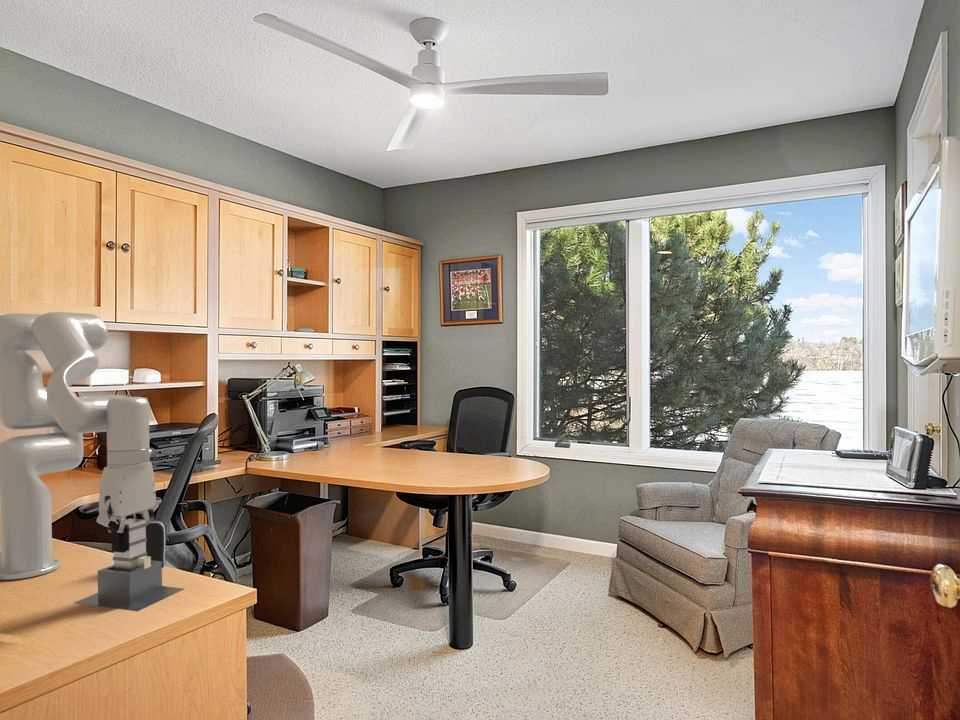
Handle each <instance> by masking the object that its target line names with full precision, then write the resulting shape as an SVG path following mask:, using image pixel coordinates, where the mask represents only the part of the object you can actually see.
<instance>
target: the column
mask: <svg viewBox="0 0 960 720" xmlns="http://www.w3.org/2000/svg"><path fill="white" fill-rule="evenodd" d="M117 524H118V521H117ZM146 526H147V523H146V522H145V520H142V519H134V518H128V519H127V518H126V521H125V527H124V531H123V532H126V533H127V551H126V552H124V553H121V552H113V556H112V560H113V565H114V570H115V571H125V572H131V571H134V570H136V569H139V568H138V558H140V557H143V556H147V552H146V541H147V538H146Z"/></svg>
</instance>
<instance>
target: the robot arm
mask: <svg viewBox="0 0 960 720" xmlns="http://www.w3.org/2000/svg"><path fill="white" fill-rule="evenodd" d="M108 336H109V335H108V328H107V326H106V323H105V322H104V320H103V319H102V318H100V317H99V316H98V315H96V314H93V313H86V312H85V313H84V312H83V313H81V312H68V311H67V312H66V311H51V312H46V313H43V314H42V313H40V314H38V313H19V312H18V313H6V314H5V313H4V314H1V315H0V421H1V423H2V425H3V426H4V427H5V428H7V430H8V429H9V430H13V431H15V430H16V431H21V430H23V431H25V430H37V429H47V428H48V429H49V428H52V430H53V432H50V433H37V434H27V435H26V434H25V435H19V436H15V437H9V438H8V439H5V440H3V441H2V442H0V522H1V524H0V525H1V526H0V527H1V528H0V533H1V534H0V535H1V537H0V538H1V552H0V580H2V581H3V580H4V581H8V580H9V581H11V580H21V579H28V578H32V577H37V576H41V575H45V574H47V573H48V574H49V573H50V572H53V571H55V570H57V569H58V568H59V567H60V566H61V560H60V559H58V558H56V557H53V533H52V531H53V530H52V529H53V528H52V527H53V525H52V523H53V520H52V517H53V516H52V493H51V491H50V488H49V487H48V486H47V485H46V483H44V481H43V480H42V479H41V478H40V476H41V475H45V474H46V475H47V474H52V473H57V472H66V471H71V470H73V469H75V468H77V467H79V466H80V464H81V463H82V461H83V458H84V452H85V451H84V450H85V449H84V447H85V446H84V437H83V435H84V434H92V433H94V434H95V433H100V432H101V433H103V432H104V433H105V432H106V463H107V464H106V466H104V467H103V470H102V474H101V478H100V484H99V493H98V494H99V495H98V496H99V497H98V513H99V514H98V515H97V517H96V523H98V525H99V524H100V525H102V526H103V527H105V528H106V530H107V531H108V533H111V551H112V552H113V553H114V552H121V553H124V552H126V551H127V533H126V532H123V531H124V527H125V521H126V520H127V517H128V516H131V515H132V516H133V519H142V520H145V522H146V523H147V525H148V524H149V523H150V521H151V518H152V517H153V515H154V514H155V513H154V512H155V511H156V510H157V509H158V508H159V506H160V502H159V501H158V499H157V498H156V495H157V494H156V482H155V481H156V480H155V474H154V469H153V464H152V461H150V459H151V457H150V456H151V454H152V452H153V451H152V449H151V447H150V404H149V401H148V399H147V398H145V397H143V396H128V395H125V394H109V395H107V394H106V395H103V394H101V395H86V396H85V395H84V396H77V395H76V394H75V392H73V390H71V388H70V387H71V386H72V385H75V384H77V383H78V382H79V383H80V382H81V381H83V380H85V379H87V378H89V377H91V376H92V374H94V373H95V371H96V370H97V369H98V367H99V357H98V355H97V354H96V352H95V351H97V350H100V349H101V348H103V347H104V346H105V345H106V344H107V340H108ZM27 351H41V352H42V353H43V355H44V357H45V359H46V360H47V362H48V363H49V366H50V367H51V368H52V370H53V372H52V374H51V376H50V377H49V379H48V382H47V385H46V388H45V387H44V383H43V372H42V369H41V366H40V364H39V363H38V362H37V361H36V359H34V357H33V356H31V354H29V353H28V352H27ZM117 520H118V521H117ZM117 522H118V524H117ZM146 538H147V526H146ZM146 544H147V541H146Z"/></svg>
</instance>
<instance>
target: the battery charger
mask: <svg viewBox="0 0 960 720" xmlns="http://www.w3.org/2000/svg"><path fill="white" fill-rule="evenodd" d="M167 527H168V526H167V524H166V522H165V521H163V520H158V519H157V520H150V523H149V524H148V525H147V544H146V552H147V556H150V557H151V560H153V561H162V569H163V568H164V567H165V566H166V564H167V563H166V544H167V542H168V529H167Z"/></svg>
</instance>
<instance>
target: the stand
mask: <svg viewBox="0 0 960 720" xmlns="http://www.w3.org/2000/svg"><path fill="white" fill-rule="evenodd" d="M138 568H139V569H136V570H134V571H131V572H125V571H115V570H114V564H113V565H110V566H106V567H104V568H102V569H99V570H97V592H96V593H95V594H92V595H89V596H87V597H84V598H81V599H79V600H77V601H75V602H73V603H74V604H78V605H86V606H87V605H88V606H94V607H101V608H109V609H117V610H125V611H132V612H139V611H141V610H144V609H146V608H149V606H152V605H154V604H156V603H159V602H161V601H162V600H165V599H167V598H170V597H171V596H174V595H175V594H177V593H180V592H182V591H184V590H185V588H183V587H182V588H181V587H174V586H163V575H162V574H163V568H162V561H153V560H151V557H150V556H143V557H140V558H138Z"/></svg>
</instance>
